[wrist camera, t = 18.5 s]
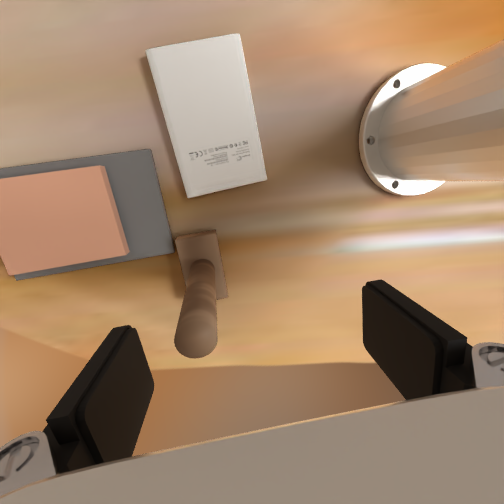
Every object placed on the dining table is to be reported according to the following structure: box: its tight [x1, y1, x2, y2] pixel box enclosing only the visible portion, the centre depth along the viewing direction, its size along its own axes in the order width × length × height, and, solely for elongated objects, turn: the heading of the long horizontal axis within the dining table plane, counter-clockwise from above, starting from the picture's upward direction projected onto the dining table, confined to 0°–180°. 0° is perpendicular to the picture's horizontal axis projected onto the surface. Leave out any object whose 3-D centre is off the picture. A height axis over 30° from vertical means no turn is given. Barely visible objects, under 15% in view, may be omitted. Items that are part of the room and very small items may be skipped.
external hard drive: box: [146, 34, 267, 198], centre depth 24 cm, size 2×8×12 cm
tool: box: [174, 230, 228, 358], centre depth 21 cm, size 4×7×14 cm, turn 9°
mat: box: [0, 149, 175, 281], centre depth 24 cm, size 15×10×1 cm, turn 98°
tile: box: [0, 165, 130, 276], centre depth 23 cm, size 1×8×10 cm
